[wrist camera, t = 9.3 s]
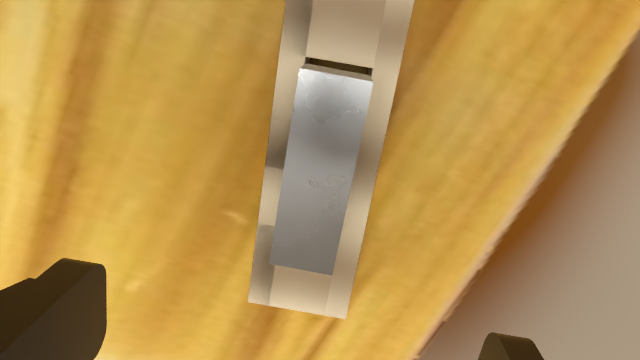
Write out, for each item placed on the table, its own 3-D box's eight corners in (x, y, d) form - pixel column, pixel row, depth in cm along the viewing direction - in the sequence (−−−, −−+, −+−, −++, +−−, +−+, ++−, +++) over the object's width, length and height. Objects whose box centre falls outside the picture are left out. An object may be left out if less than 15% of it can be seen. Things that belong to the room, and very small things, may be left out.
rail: (302, -53, 23) (294, -68, 20) (413, -34, 23) (424, -45, 20) (258, 272, 30) (247, 301, 26) (345, 287, 30) (345, 319, 26)
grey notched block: (314, 57, 25) (299, 68, 17) (365, 67, 25) (373, 81, 17) (290, 201, 28) (268, 263, 20) (336, 210, 28) (332, 275, 20)
